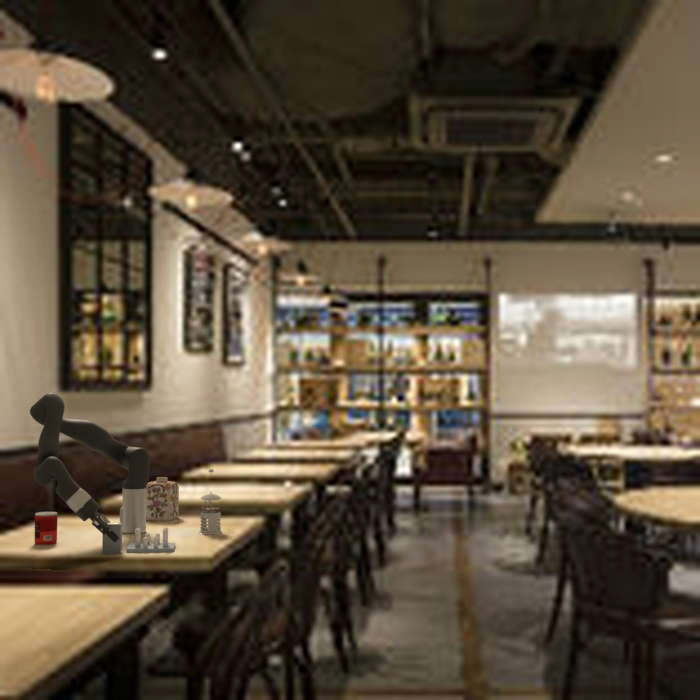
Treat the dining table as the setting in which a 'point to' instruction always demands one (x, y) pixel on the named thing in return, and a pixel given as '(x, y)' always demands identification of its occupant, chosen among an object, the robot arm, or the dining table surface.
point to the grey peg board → (151, 547)
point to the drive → (108, 544)
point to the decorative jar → (162, 500)
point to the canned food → (45, 528)
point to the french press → (210, 515)
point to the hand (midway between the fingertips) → (117, 538)
